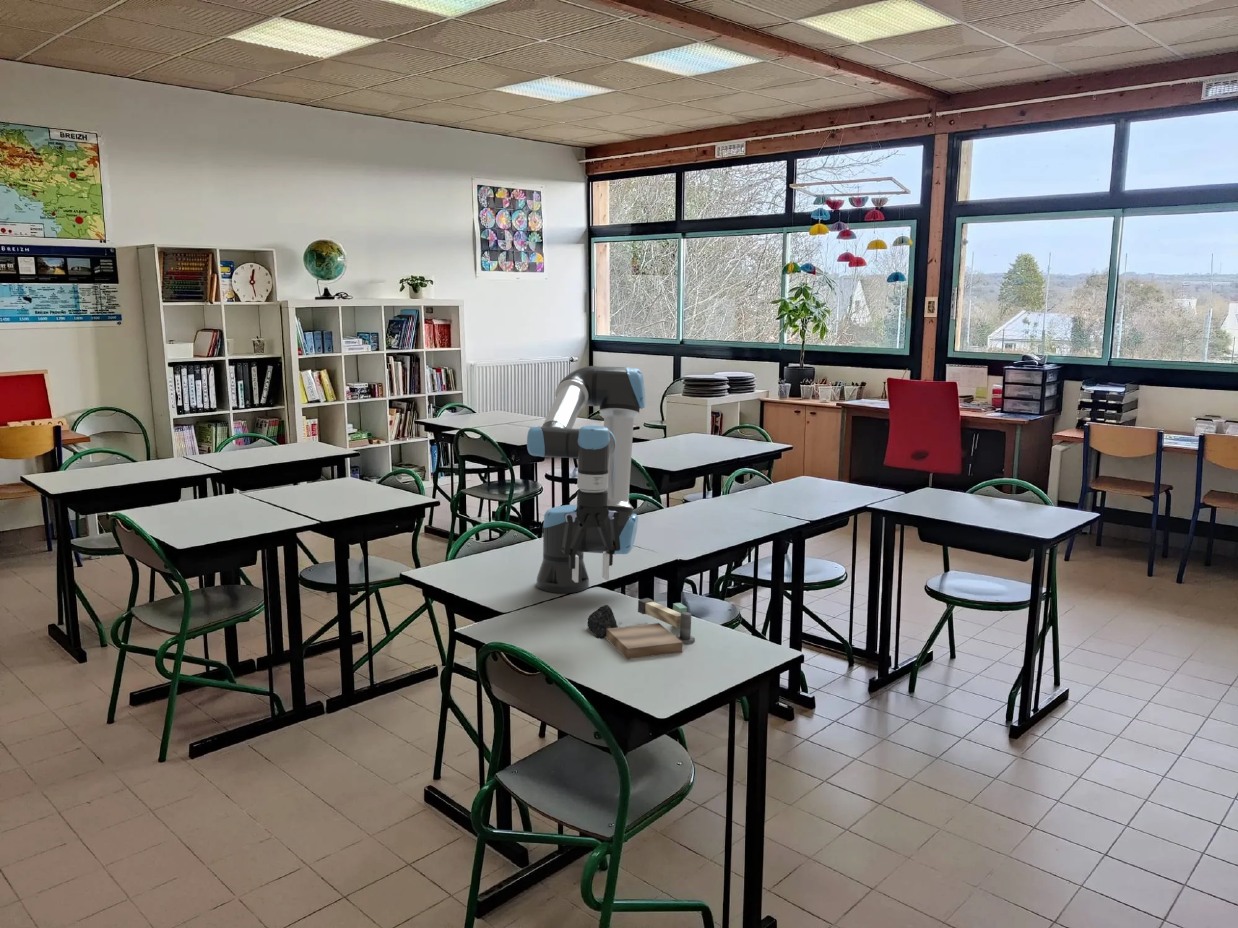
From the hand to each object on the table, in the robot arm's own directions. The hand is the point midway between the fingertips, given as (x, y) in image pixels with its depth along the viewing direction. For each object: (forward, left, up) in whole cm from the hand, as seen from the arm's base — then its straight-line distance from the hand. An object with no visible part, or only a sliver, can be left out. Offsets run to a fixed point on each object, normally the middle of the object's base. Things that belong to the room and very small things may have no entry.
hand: (590, 579), depth 233 cm
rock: (+2, +3, -14) cm, 14 cm away
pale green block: (+5, +23, -13) cm, 27 cm away
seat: (+14, +12, -13) cm, 23 cm away
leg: (+5, +17, -10) cm, 21 cm away
